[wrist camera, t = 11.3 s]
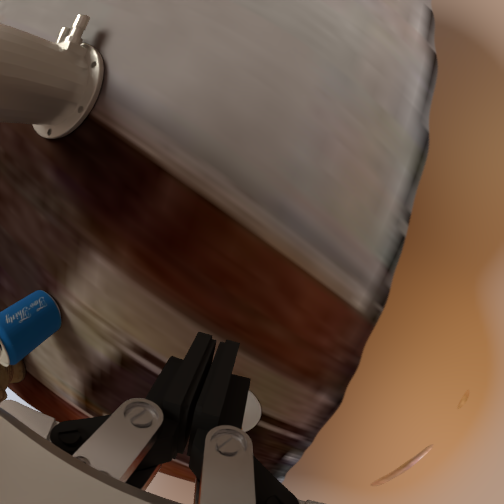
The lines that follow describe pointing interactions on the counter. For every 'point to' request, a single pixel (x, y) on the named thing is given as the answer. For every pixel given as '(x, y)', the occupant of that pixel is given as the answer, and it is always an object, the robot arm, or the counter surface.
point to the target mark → (251, 412)
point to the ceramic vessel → (10, 376)
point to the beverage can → (27, 326)
